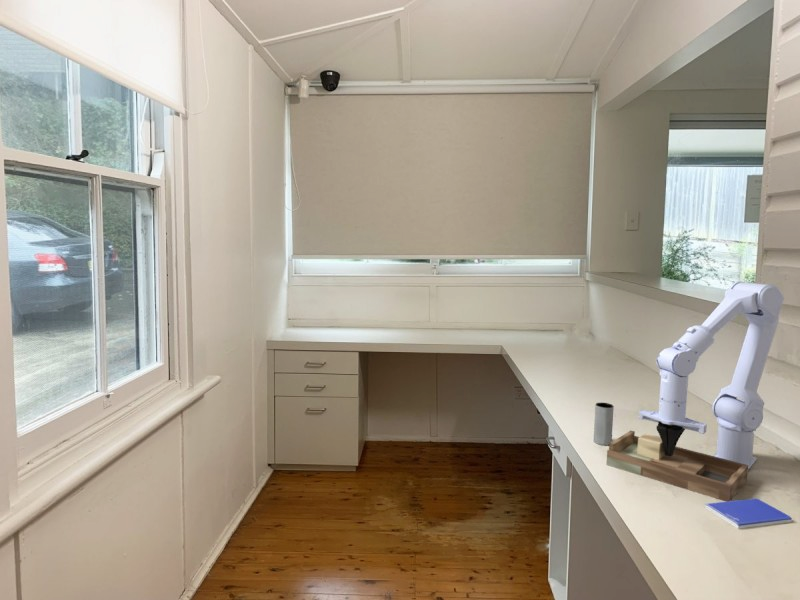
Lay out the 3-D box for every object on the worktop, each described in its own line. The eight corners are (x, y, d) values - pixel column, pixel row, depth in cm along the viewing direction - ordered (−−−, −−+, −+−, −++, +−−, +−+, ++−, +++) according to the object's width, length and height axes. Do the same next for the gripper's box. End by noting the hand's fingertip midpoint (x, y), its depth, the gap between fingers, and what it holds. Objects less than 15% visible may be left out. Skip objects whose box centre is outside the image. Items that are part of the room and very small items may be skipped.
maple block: (644, 448, 134) (645, 433, 134) (665, 454, 131) (667, 438, 131) (637, 454, 131) (638, 438, 130) (658, 460, 127) (659, 443, 127)
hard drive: (738, 523, 101) (792, 517, 104) (705, 502, 109) (755, 497, 112) (737, 531, 101) (791, 524, 104) (704, 510, 109) (754, 504, 112)
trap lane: (631, 448, 140) (632, 429, 139) (747, 480, 122) (748, 458, 121) (606, 464, 129) (607, 444, 129) (729, 502, 111) (731, 479, 111)
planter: (593, 444, 143) (595, 406, 141) (593, 438, 147) (595, 401, 146) (611, 446, 141) (613, 408, 140) (611, 440, 145) (613, 403, 144)
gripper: (635, 396, 129) (631, 450, 130) (701, 410, 119) (697, 468, 120) (646, 390, 134) (642, 443, 135) (710, 403, 124) (706, 460, 125)
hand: (669, 454), depth 128 cm, fingers closed
